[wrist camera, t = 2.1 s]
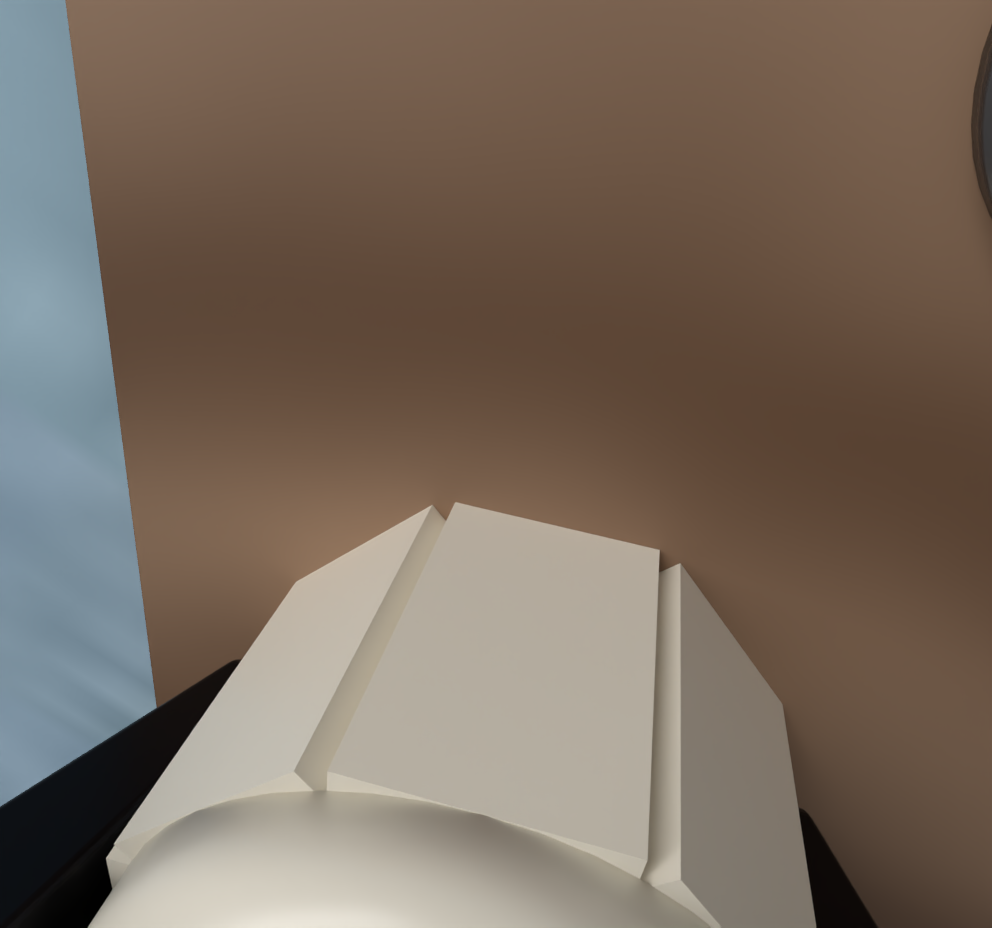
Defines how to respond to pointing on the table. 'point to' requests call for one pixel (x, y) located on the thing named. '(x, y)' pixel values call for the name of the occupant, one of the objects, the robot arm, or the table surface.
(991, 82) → the door knob
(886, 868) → the board
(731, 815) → the cap
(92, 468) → the table surface
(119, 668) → the table surface
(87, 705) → the table surface
